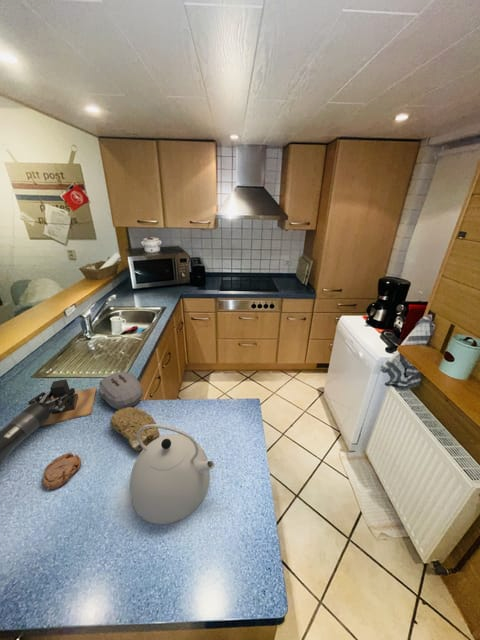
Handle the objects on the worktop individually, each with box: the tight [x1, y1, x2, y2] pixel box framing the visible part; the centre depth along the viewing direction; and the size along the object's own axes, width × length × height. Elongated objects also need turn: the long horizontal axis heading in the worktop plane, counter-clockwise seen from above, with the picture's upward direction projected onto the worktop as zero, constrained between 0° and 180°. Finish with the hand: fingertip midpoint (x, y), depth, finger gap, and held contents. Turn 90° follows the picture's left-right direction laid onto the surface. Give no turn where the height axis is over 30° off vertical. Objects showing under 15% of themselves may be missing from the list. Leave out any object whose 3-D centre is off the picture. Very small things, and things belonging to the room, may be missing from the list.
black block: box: [49, 378, 73, 405], centre depth 99 cm, size 4×4×11 cm
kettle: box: [129, 423, 216, 525], centre depth 70 cm, size 25×23×23 cm
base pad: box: [38, 387, 97, 428], centre depth 101 cm, size 20×16×3 cm
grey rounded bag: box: [98, 370, 144, 411], centre depth 106 cm, size 15×8×20 cm
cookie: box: [42, 452, 82, 490], centre depth 76 cm, size 10×11×3 cm
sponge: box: [109, 406, 161, 452], centre depth 89 cm, size 13×8×20 cm
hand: (66, 388), depth 100 cm, fingers closed on black block, 6 cm apart
